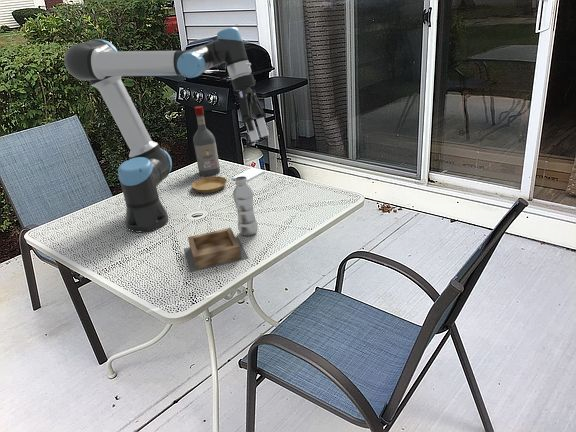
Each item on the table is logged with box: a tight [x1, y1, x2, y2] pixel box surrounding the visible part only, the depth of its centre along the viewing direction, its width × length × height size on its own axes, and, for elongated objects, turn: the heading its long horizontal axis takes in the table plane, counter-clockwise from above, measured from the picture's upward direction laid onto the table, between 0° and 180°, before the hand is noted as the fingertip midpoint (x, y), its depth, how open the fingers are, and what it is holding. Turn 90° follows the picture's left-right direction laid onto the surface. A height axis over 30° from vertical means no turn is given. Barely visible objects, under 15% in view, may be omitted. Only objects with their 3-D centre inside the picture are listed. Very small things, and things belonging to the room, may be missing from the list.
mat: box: [183, 236, 250, 273], centre depth 155 cm, size 18×16×1 cm
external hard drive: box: [232, 167, 266, 183], centre depth 217 cm, size 2×8×12 cm
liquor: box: [192, 105, 221, 177], centre depth 219 cm, size 9×9×30 cm
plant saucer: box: [191, 175, 228, 194], centre depth 208 cm, size 15×15×3 cm
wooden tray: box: [187, 227, 242, 269], centre depth 154 cm, size 14×14×4 cm
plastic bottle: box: [232, 176, 259, 237], centre depth 162 cm, size 6×7×20 cm
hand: (260, 138), depth 169 cm, fingers open, 13 cm apart
